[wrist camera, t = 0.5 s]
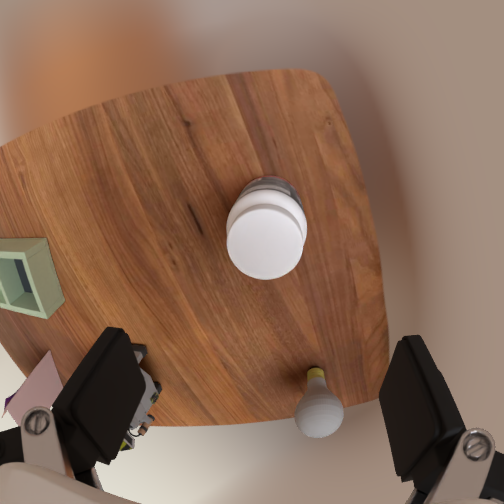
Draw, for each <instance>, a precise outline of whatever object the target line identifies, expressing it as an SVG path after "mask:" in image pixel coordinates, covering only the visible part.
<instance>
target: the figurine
mask: <svg viewBox="0 0 504 504" xmlns="http://www.w3.org/2000/svg"><path fill="white" fill-rule="evenodd" d="M132 347H133V350H134V353H135V356H136V358H137V361H138V364H139V363H140V361H141V359H142V358H144V357H145V356H146V354H147V350H146V347H145V346H143V345H139V346H138V345H137V344H134V345H132ZM140 369H141V368H140ZM141 372H142V374H143V377H144V379H145V382H146V390H145V393H144V395H143V397H142V399H141V402H140V404H139V406H138V408H137V410H136V413H135V415H134V417H133V419H132V422H131V424H130V426H129V429H128V431H129V433H130V429H131V430H133V429H135V428H137V427H138V425H139V424H140V423H143V424H142V426H141V427H140V428H139V430H138V433H139V435H142V436H144V434H145V433H146V432H147V430H148V427H149V426H150V425H151V423H152V422H153V421H154V419H155V418H154V417H153V416H152V415H150V414H148V415H146V413H147V412H148V410H149V409H150V407H151V406H152V404H155V402H156V400H157V399H158V398H159V396H158V394H160V392H161V390H162V388H161V385H160V384H158V382H155V383H153V381H152V379H151V376H150V375H148V374H147V373H146V372H145V371H144V370H142V369H141ZM129 433H128V432H127V433H126V435H125V438H124V440H123V442H122V445H121V447H120V449H119V451H124V450H130V449H133V448H134V443H135V439H134V438H133V437H132V436H135V435H132V434H131V433H130V434H131V435H132V436H131V435H130V434H129ZM139 435H137V436H139ZM137 436H135V437H137Z"/></svg>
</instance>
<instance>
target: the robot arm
mask: <svg viewBox="0 0 504 504" xmlns="http://www.w3.org/2000/svg"><path fill="white" fill-rule="evenodd" d="M145 390H146V382H145V379H144V377H143V374H142V372H141V369H140V366H139V364H138V361H137V358H136V356H135V353H134V350H133V347H132V344H131V341H130V338H129V336H128V334H127V333H125V331H124V330H123V329H122V328H115V327H107V328H106V329H105V330H104V331H103V333H102V334H101V335H100V337H99V338H98V339H97V341H96V342H95V343H94V345H93V346H92V348H91V349H90V350H89V352H88V353H87V355H86V356H85V357H84V359H83V360H82V362H81V363H80V364H79V366H78V367H77V369H76V370H75V372H74V373H73V374H72V376H71V377H70V379H69V380H68V382H67V383H66V385H65V386H64V388H63V389H62V391H61V392H60V394H59V395H58V397H57V398H56V400H55V401H54V403H53V404H52V407H53V409H52V410H51V411H50V409H48V408H47V407H44V406H35V407H33V408H30V409H29V410H28V411H27V412H26V413H25V414H24V415H23V417H22V420H21V426H18V427H15V428H12V429H9V430H6V431H2V432H0V504H140V503H136V502H133V501H130V500H127V499H124V498H121V497H118V496H115V495H112V494H110V493H107V492H104V490H103V488H102V485H101V483H100V480H99V478H98V475H97V472H96V469H95V467H94V466H95V464H96V461H99V462H101V463H104V464H107V465H109V464H110V462H111V460H114V459H115V458H116V456H117V454H118V452H119V449H120V447H121V445H122V442H123V440H124V438H125V435H126V433H127V431H128V429H129V426H130V424H131V422H132V419H133V417H134V415H135V413H136V410H137V408H138V406H139V404H140V402H141V399H142V397H143V395H144V393H145ZM379 401H380V405H381V409H382V413H383V417H384V421H385V425H386V429H387V434H388V438H389V442H390V447H391V452H392V456H393V461H394V466H395V471H396V474H397V476H401V481H402V482H406V481H410V480H413V482H414V487H415V489H414V490H413V492H412V494H411V495H410V497H409V498H408V500H407V501H406V503H405V504H504V454H502V453H500V452H497V451H495V442H494V439H493V437H492V436H491V434H490V433H489V432H487V431H486V430H484V429H480V428H472V429H469V430H466V428H465V425H464V422H463V420H462V418H461V415H460V413H459V411H458V408H457V406H456V404H455V401H454V399H453V397H452V395H451V392H450V390H449V388H448V386H447V384H446V382H445V380H444V377H443V375H442V374H441V372H440V371H439V370H438V369H437V367H436V365H435V363H434V361H433V359H432V357H431V355H430V353H429V351H428V349H427V347H426V345H425V343H424V341H423V339H422V338H421V336H420V335H411V336H404V337H403V338H402V340H401V341H398V343H397V345H396V348H395V351H394V354H393V357H392V360H391V363H390V365H389V368H388V371H387V373H386V376H385V379H384V381H383V384H382V386H381V389H380V392H379Z"/></svg>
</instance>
